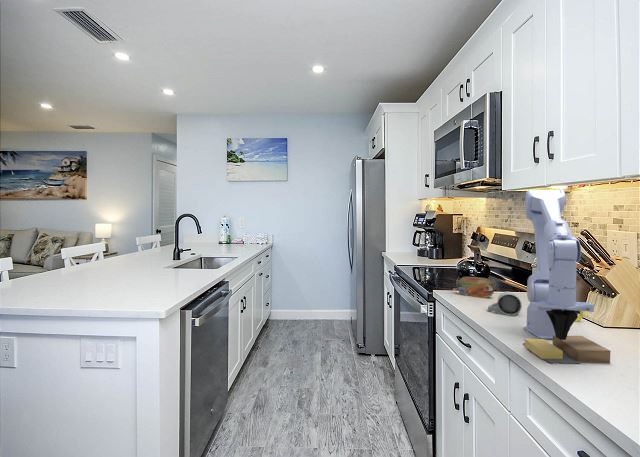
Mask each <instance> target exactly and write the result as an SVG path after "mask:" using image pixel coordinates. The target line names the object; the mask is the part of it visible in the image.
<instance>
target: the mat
mask: <svg viewBox="0 0 640 457" xmlns="http://www.w3.org/2000/svg"><path fill="white" fill-rule="evenodd" d="M522 345H523V346H525V342H524V343H522ZM543 360H544V361H545V362H546V363H548V364H553V363H559V364H562V365H563V364H566V365H569V364H570V365H571V364H572V365H580V364H581V362H578V361H576V360H575V359H573V358H572V357H570V356H569V355H567V354H565V353H564V352H563V359H543ZM559 364H558V365H559Z"/></svg>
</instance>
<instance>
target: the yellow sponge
mask: <svg viewBox="0 0 640 457" xmlns="http://www.w3.org/2000/svg"><path fill="white" fill-rule="evenodd" d="M524 343H525V345H524V347H525V348H527V349H528V350H529V351H531V352H532V353H533V354H534V355H536V356H537V357H539V359H542V360H544V359H563V351H562V350H560V349H559V348H557V347H556V346H554V345H553V343H551V342H549V341H548V340H547V339H541V338H524Z"/></svg>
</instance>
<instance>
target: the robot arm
mask: <svg viewBox="0 0 640 457" xmlns="http://www.w3.org/2000/svg"><path fill="white" fill-rule="evenodd" d="M565 205H566V193H565V191H564V190H563V189H562V188H561V189H544V190H539V189H538V190H536V189H535V190H530V189H528V190H527V191H526V192H525V195H524V209H525V210H524V211H525V217H526V219H527V220H529V221H531V222H532V224H533V228H534V229H533V230H534V241H535V242H534V244H535V255H536V256H535V258H536V272H534V273H533V274H530V276H528V278H527V282H526V283H527V286H526V297H527V301H529V302H530V303H529V304H528V305H527V308H526V326H523V329H525V330H526V331H527V332H528V333H531V334H533V335H534V336H535V337H537V338H538V339H545V340H553V335H555V336H556V337H557V338H558V339H560V340H566V338H567V336H569V335H568V334H569V333H570V332H569V331H570V329H571V327H572V325H573V324H574V323H575V322H576V321H575V320H576V319H577V318H578V317H579V314H578V313H577V312H580V311H583V312H589V313H593V312H595V304H594V303H591V302H587V301H586V302H584V301H583V302H582V301H577V300H576V299H577V298H576V297H577V296H576V295H577V271H578V270H577V269H578V268H577V267H578V266H577V264H578V263H579V262H580V260H581V258H582V246H581V242H580V240H579V239H578V238H576V237H574V236H573V235H572V231H571V228H570V225H569V223H568V222H567V221H566V220H564V219H562V214H563V210H564V208H565Z"/></svg>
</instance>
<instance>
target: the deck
mask: <svg viewBox="0 0 640 457" xmlns="http://www.w3.org/2000/svg"><path fill="white" fill-rule="evenodd" d="M552 345H554V346H556V347H557V348H559V349H560V350H562V351H563V352H564V353H565V354H567V355H569V356H570V357H572V358H573V359H575V360H576V361H578V362H580V363H591V364H592V363H593V364H594V363H597V364H598V363H600V364H603V363H606V364H611V353H612V352H611V350H610V349H608V348H606V347H604V346H602V345H601V344H599V343H596V342H595V341H593V340H590V339H589V338H587V337H585V336H583V335H567V338H566V340H560V339H558V338H557V337H556V336H555V335H553V339H552Z"/></svg>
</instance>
